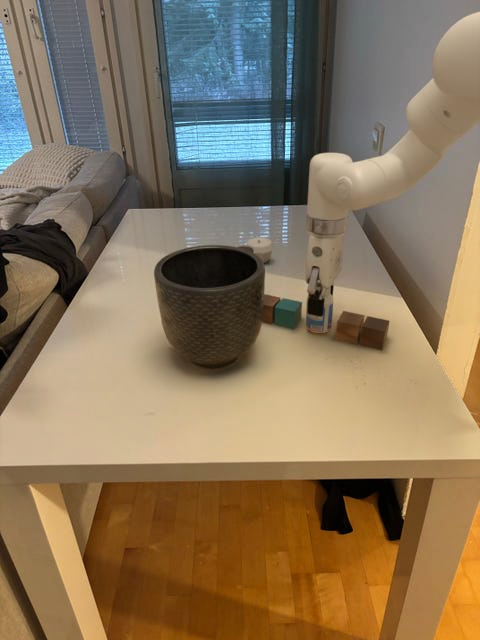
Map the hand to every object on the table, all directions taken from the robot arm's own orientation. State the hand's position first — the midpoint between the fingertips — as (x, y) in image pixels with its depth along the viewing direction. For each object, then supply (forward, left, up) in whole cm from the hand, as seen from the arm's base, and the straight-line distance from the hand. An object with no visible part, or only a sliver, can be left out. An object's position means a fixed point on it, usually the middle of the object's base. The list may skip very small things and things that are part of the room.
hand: (319, 307), depth 96 cm
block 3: (-7, 0, -5) cm, 9 cm away
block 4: (-12, 0, -5) cm, 13 cm away
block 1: (+12, 0, -6) cm, 13 cm away
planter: (+16, +17, -6) cm, 24 cm away
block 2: (+7, 0, -5) cm, 9 cm away
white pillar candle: (+26, -27, -6) cm, 38 cm away
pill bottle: (0, 0, -5) cm, 5 cm away
